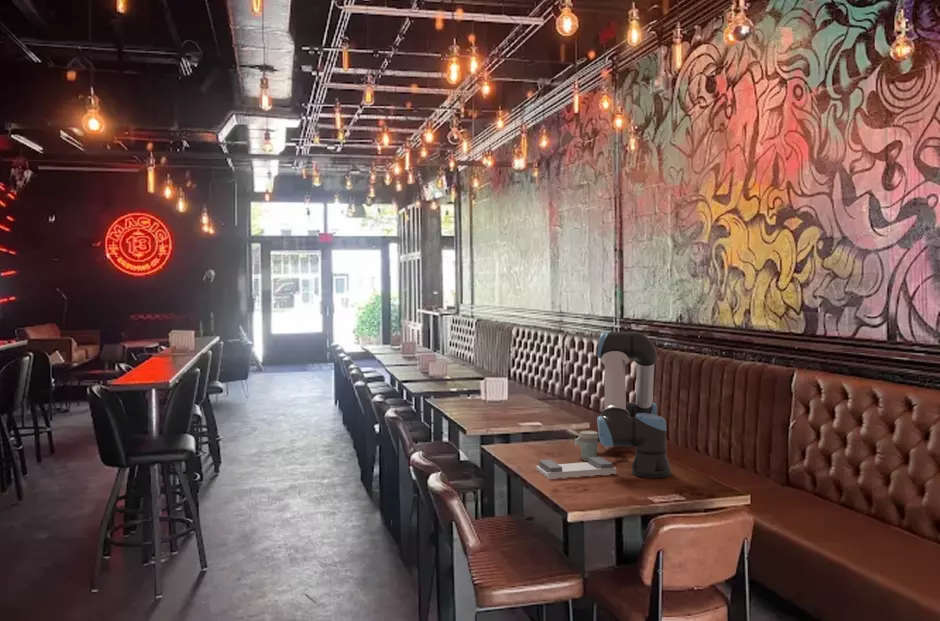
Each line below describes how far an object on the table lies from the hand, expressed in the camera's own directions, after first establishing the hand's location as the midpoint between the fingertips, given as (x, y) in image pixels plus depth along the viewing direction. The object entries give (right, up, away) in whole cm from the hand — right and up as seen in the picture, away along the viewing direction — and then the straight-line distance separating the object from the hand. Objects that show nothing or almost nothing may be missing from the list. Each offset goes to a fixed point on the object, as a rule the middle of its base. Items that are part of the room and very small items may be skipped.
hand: (590, 444), depth 314 cm
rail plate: (-9, -7, -21) cm, 25 cm away
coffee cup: (-1, -7, -2) cm, 7 cm away
